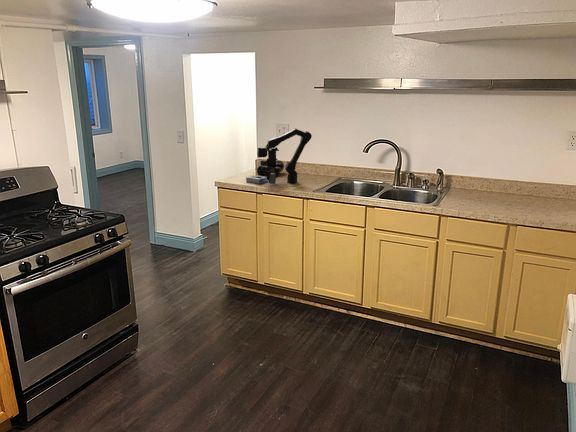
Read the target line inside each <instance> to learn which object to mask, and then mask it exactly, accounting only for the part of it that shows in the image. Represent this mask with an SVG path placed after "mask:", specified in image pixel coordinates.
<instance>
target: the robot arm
mask: <svg viewBox="0 0 576 432" xmlns="http://www.w3.org/2000/svg"><path fill="white" fill-rule="evenodd" d="M294 136H298V137H300V141H299V144H298V146H297V148H296V149H295V152H294V153H293V155H292V156H291V157H292V158H291V160H290V161H288V160H287V161H286V164H284V169H285V172H286V173H287V176H286V177H287V178H286V180H287V181H286V184H292V185H295V184H298V183H299V181H298V172H297V171H296V170H295V169H296V167H297V162H298V161H299V158H300V157H301V155H302V153H303V150H304V148H305V147H306V145H307V144H308V143H309V142H310V141H311V139H312V136H313V135H312V133H310V132H309V131H308V130H307V131H303V130H300V129H297V128H293V129H292V130H290V131H287V132H286V133H284V134H281V135H280V136H277V137H272V138H269V139H268V140H267V144H266V145H265V147H257V153H256V156H257V158H266V160H260V165H259V166H261V165H262V167H261V170H262V171H264V172H265V174H266V177H267V180H268V181H269V178H270V174H271V171H270V170H271V168H274V170H275V174H276V179H277V178H278V176H279V174H280V173H281V172H280V170H281V169H282V168H283V164H282V163H276V161H277V160H278V158H277V152H279V151H280V150H279V148H278V147H277V146H279V145H280V144H281V143H283V142H284V141H286V140H289V139H290V138H293V137H294Z"/></svg>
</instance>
